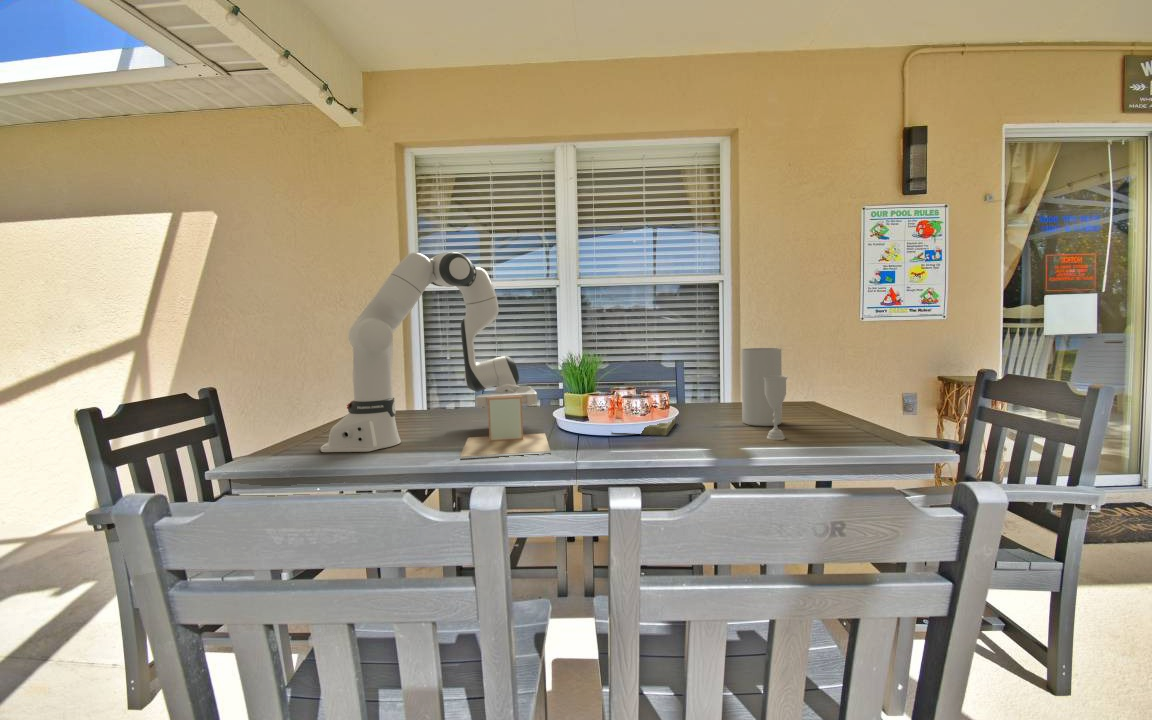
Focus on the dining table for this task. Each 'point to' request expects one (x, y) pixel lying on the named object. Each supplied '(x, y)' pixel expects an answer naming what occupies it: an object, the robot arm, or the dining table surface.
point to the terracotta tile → (505, 418)
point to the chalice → (775, 400)
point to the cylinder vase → (759, 385)
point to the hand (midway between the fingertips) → (506, 402)
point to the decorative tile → (658, 428)
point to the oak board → (504, 446)
